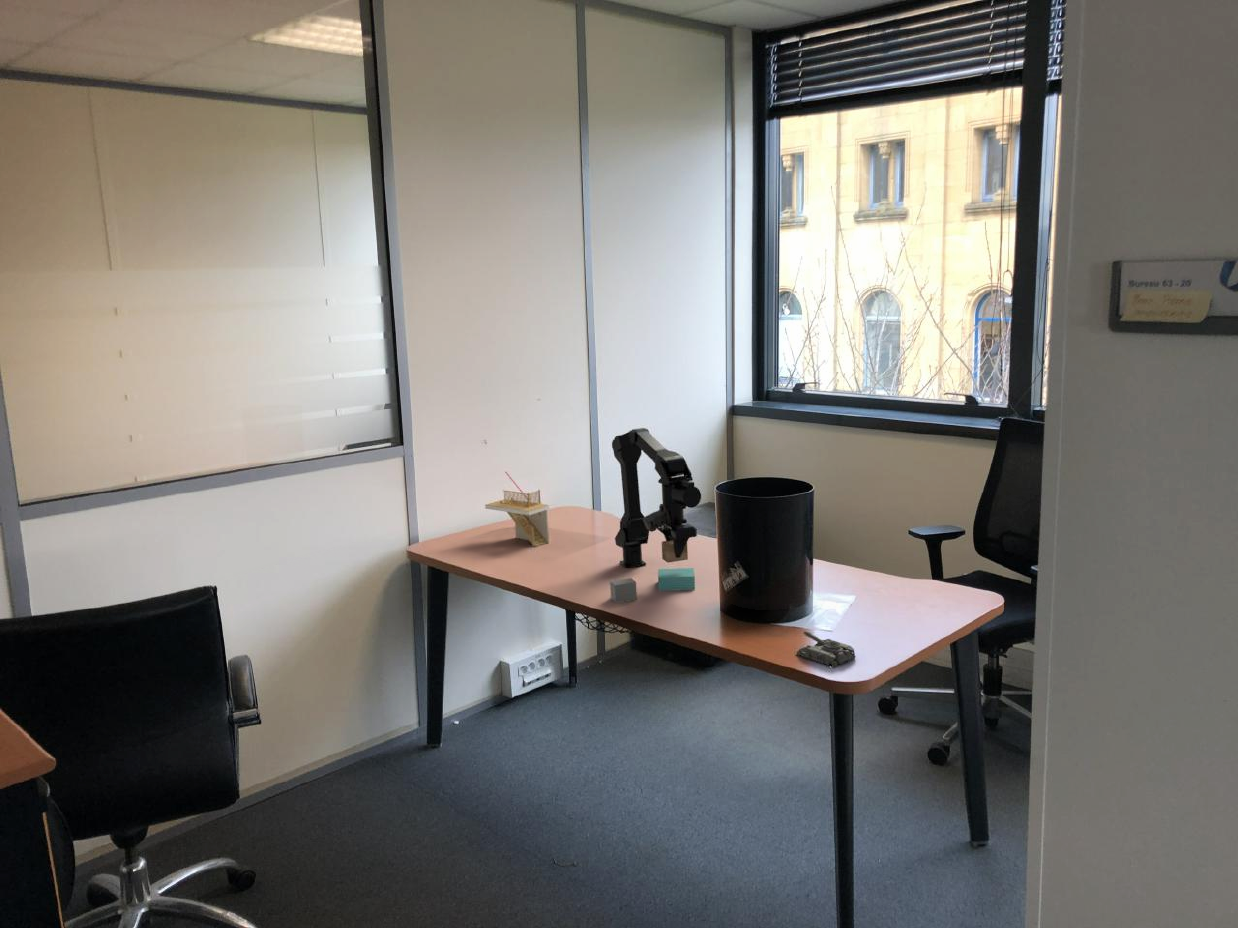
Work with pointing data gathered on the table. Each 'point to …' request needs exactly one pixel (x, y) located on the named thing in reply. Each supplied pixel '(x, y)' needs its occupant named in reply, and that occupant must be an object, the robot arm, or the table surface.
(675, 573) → the teal brick
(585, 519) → the table surface
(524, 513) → the architectural model
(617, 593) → the charcoal brick
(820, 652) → the tank toy
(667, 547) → the walnut brick
